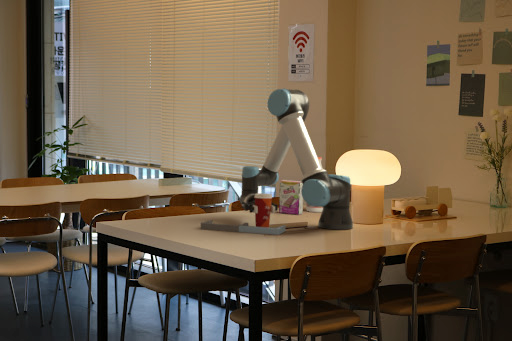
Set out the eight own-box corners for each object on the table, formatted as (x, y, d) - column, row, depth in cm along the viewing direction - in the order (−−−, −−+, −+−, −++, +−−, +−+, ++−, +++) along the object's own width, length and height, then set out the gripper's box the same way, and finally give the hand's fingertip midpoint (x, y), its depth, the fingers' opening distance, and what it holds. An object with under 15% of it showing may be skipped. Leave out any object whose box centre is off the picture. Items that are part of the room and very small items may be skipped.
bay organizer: (285, 231, 311) (285, 225, 311) (278, 234, 301) (278, 228, 301) (209, 225, 321) (209, 219, 321) (200, 228, 311) (200, 223, 311)
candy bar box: (278, 213, 369) (279, 180, 368) (282, 212, 373) (283, 179, 372) (298, 215, 364) (299, 181, 362) (303, 214, 368) (304, 181, 367)
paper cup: (269, 229, 306) (270, 195, 304) (251, 228, 307) (252, 194, 306) (273, 226, 313) (274, 193, 312) (255, 225, 315) (256, 192, 314)
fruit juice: (309, 209, 386) (311, 156, 384) (326, 211, 382) (328, 157, 380) (303, 211, 377) (305, 156, 375) (321, 213, 374) (323, 157, 372)
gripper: (275, 211, 329) (288, 219, 307) (231, 211, 325) (241, 219, 303) (275, 194, 329) (288, 201, 306) (232, 194, 325) (242, 200, 302)
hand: (265, 210), depth 305 cm, fingers closed on paper cup, 7 cm apart
